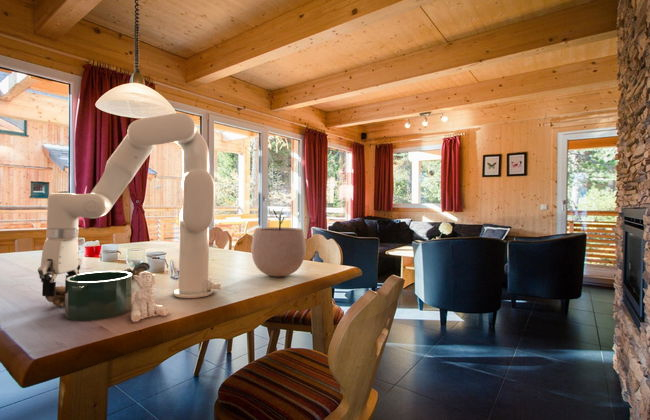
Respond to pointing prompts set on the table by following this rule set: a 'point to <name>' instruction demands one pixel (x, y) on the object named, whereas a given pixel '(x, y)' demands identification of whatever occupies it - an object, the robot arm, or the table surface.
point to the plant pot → (278, 249)
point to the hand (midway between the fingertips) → (60, 291)
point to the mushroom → (58, 297)
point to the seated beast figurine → (145, 299)
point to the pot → (98, 295)
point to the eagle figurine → (138, 269)
